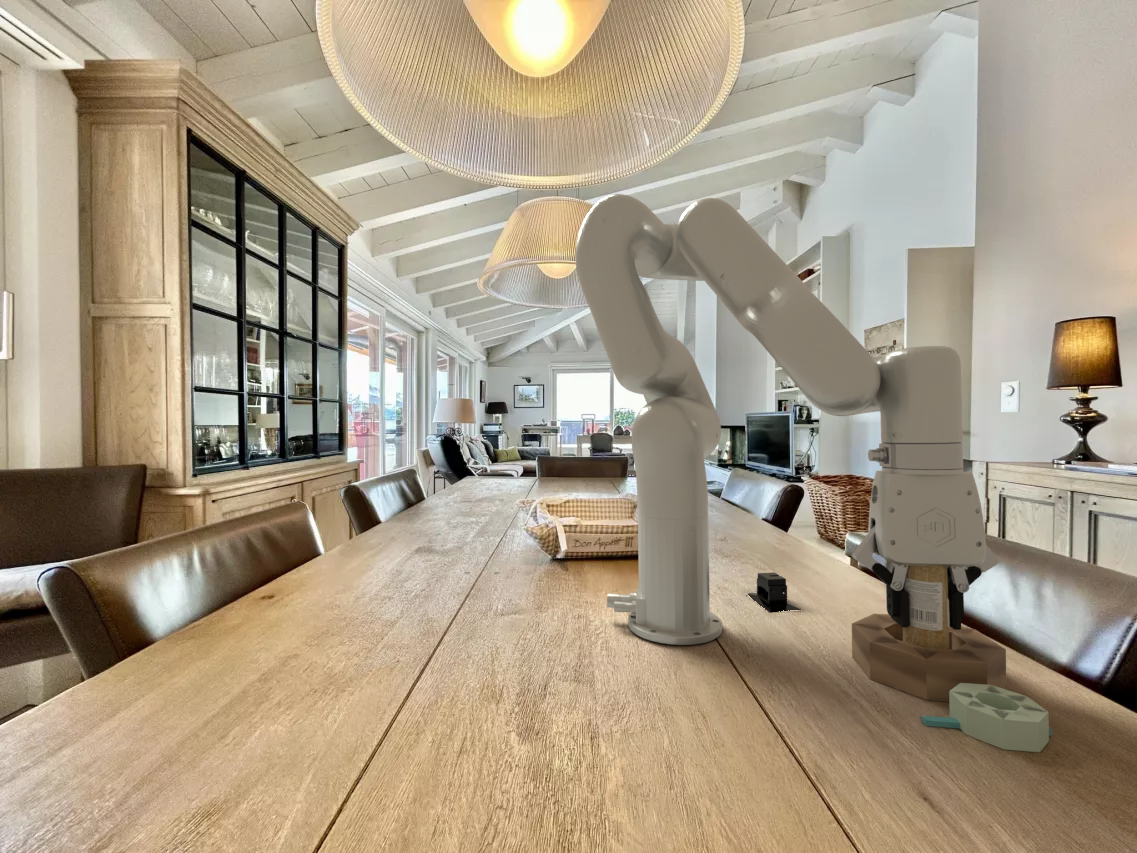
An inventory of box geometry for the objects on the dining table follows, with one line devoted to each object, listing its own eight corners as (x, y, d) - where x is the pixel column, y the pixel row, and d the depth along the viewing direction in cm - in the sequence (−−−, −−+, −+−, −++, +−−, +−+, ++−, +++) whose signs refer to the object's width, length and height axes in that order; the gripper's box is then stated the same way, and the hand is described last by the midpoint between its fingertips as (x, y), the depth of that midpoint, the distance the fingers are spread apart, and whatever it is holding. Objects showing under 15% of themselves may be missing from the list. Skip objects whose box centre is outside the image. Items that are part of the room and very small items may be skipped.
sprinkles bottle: (958, 655, 57) (955, 532, 57) (939, 666, 55) (937, 537, 55) (912, 641, 61) (910, 526, 61) (893, 651, 58) (890, 530, 58)
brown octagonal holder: (885, 696, 53) (884, 657, 53) (841, 644, 65) (840, 612, 65) (1032, 707, 50) (1031, 666, 50) (956, 650, 63) (956, 617, 63)
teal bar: (925, 725, 47) (925, 720, 47) (921, 720, 48) (921, 715, 48) (1051, 735, 46) (1051, 729, 46) (1045, 730, 46) (1045, 724, 46)
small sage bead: (978, 747, 44) (978, 717, 44) (939, 707, 51) (938, 681, 51) (1065, 754, 43) (1065, 724, 43) (1014, 712, 49) (1013, 686, 49)
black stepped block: (815, 618, 76) (815, 586, 76) (767, 620, 75) (767, 588, 75) (774, 591, 88) (773, 564, 88) (732, 593, 87) (732, 566, 87)
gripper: (851, 462, 56) (855, 633, 56) (1030, 460, 53) (1035, 641, 53) (828, 458, 63) (832, 609, 63) (985, 456, 60) (989, 615, 60)
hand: (924, 622), depth 58 cm, fingers closed on sprinkles bottle, 4 cm apart
